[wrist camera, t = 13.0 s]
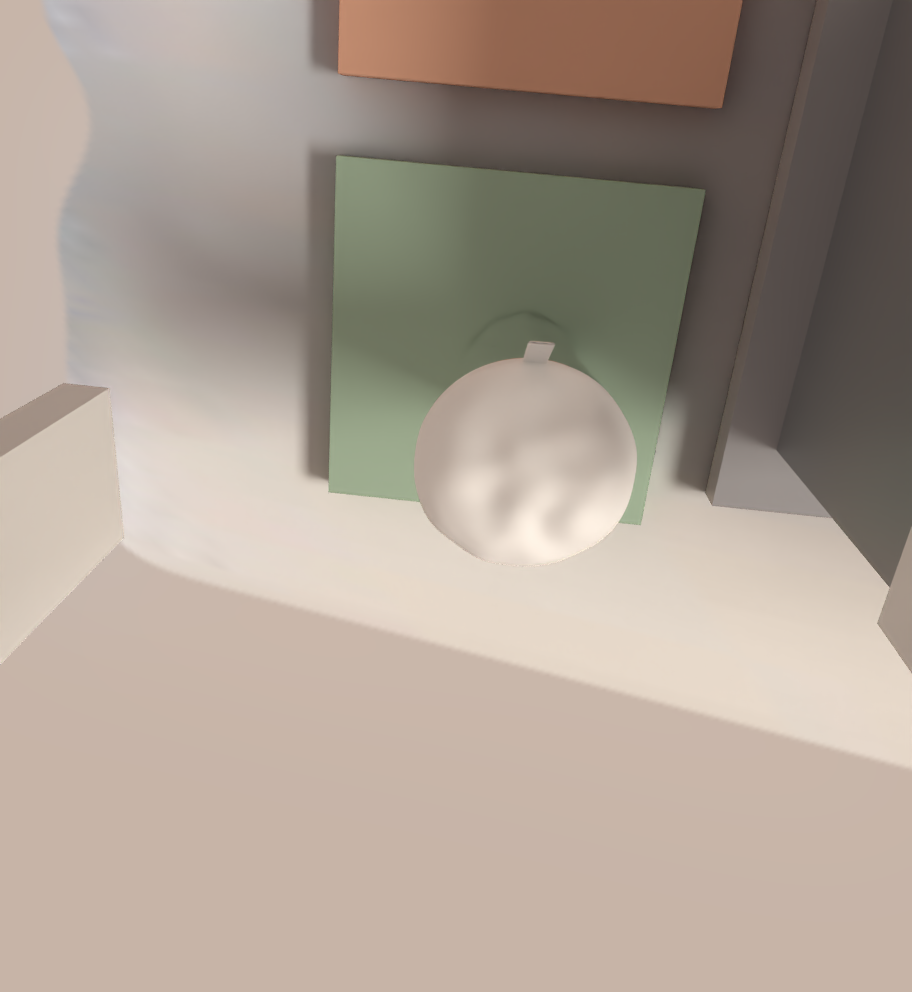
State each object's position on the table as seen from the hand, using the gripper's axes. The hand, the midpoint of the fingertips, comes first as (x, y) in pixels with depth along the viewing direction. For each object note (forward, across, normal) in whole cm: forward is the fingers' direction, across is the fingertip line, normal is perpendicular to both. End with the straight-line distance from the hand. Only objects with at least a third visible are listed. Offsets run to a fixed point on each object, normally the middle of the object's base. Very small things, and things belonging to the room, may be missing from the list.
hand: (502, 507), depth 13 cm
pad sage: (+12, 0, -1) cm, 12 cm away
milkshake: (+12, 0, 0) cm, 12 cm away
